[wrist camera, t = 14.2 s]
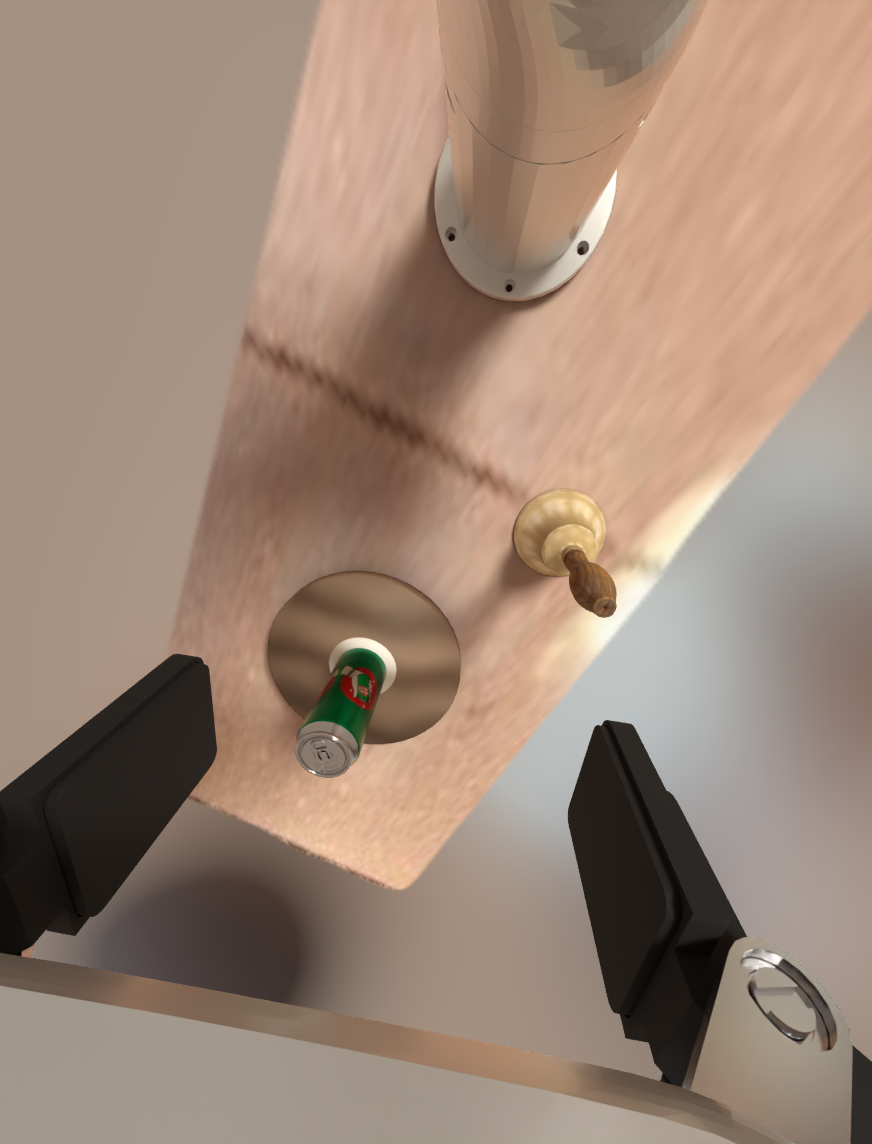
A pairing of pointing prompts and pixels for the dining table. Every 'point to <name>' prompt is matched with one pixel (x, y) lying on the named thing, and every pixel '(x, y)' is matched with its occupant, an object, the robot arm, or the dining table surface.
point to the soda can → (341, 714)
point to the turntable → (378, 623)
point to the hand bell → (567, 545)
